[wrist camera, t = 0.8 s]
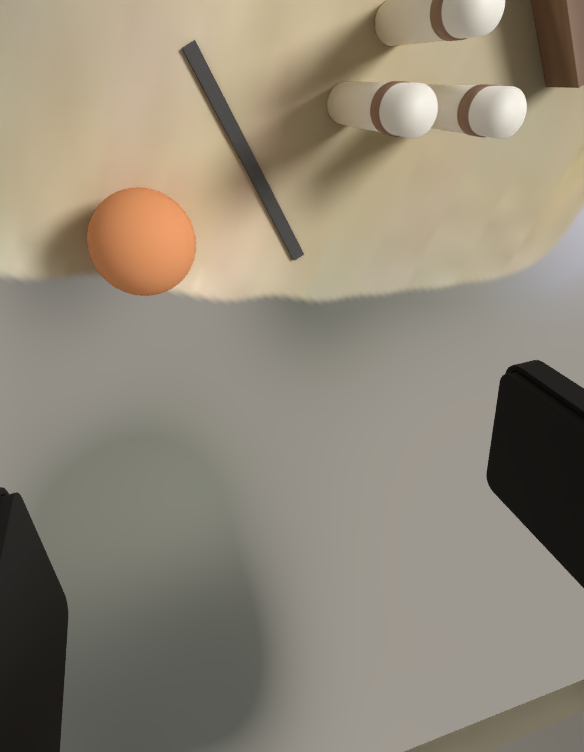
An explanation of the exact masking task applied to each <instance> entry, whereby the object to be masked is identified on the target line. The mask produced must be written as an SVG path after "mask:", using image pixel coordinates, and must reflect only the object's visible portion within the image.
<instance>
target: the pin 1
mask: <svg viewBox="0 0 584 752" xmlns="http://www.w3.org/2000/svg"><path fill="white" fill-rule="evenodd" d="M504 8H505V0H386V1H385V2H384V3H383V4H382V5H381V6H380V8H379V9H378V11H377V14H376V17H375V30H376V34H377V36H378V38H379V39H380V41H381V42H382V43H384V44H385V45H388V46H398V45H407V44H417V43H426V42H435V41H444V40H445V41H455V40H463V39H467V38H472V37H480V36H484V35H487V34H489V33H490V32H491V31H492V30H494V28H495V27H496V26H497V25H498V23H499V21H500V20H501V17H502V15H503V12H504Z"/></svg>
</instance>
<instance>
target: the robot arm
mask: <svg viewBox="0 0 584 752" xmlns="http://www.w3.org/2000/svg"><path fill="white" fill-rule="evenodd" d="M487 481H488V484H489V486H490V488H491V489H492V491H493V492H494V493H495V494H496V495H497V496H498V497H499V499H501V501H502V502H503V503H504V504H505V505H506V506H507V507H508V508H509V509H510V510H511V511H512V512H513V513H514V514H515V515H516V517H517V518H518V519H519V520H520V521H521V522H522V523H523V524H524V525H525V526H526V527H527V528H528V529H529V530H530V532H531V533H532V534H533V535H534V536H535V537H536V538H537V539H538V540H539V541H540V542H541V543H542V544H543V545H544V546H545V547H546V548H547V550H548V551H549V552H550V553H551V554H552V555H553V556H554V557H555V558H556V559H557V560H558V561H559V562H560V563H561V564H562V566H564V568H565V569H566V570H567V571H568V572H569V573H570V574H571V575H572V576H573V577H574V578H575V579H576V580H577V581H578V583H579V584H580V585H581V586H582V587H583V588H584V388H582V387H581V386H579V385H577V384H576V383H574V382H573V381H571V380H570V379H568V378H567V377H565V376H564V375H562V374H560V373H559V372H557V371H556V370H554V369H553V368H551V367H549V366H548V365H546V364H545V363H543V362H541V361H539V360H533V361H529V362H525V363H521V364H517V365H513V366H510V367H509V368H508V369H507V371H506V374H505V375H503V376H502V378H501V380H500V385H499V392H498V399H497V405H496V413H495V419H494V426H493V433H492V440H491V447H490V453H489V460H488V468H487ZM67 628H68V607H67V601H66V597H65V594H64V592H63V590H62V587H61V585H60V583H59V580H58V578H57V576H56V574H55V571H54V569H53V567H52V565H51V563H50V560H49V558H48V556H47V553H46V551H45V549H44V547H43V544H42V542H41V540H40V538H39V536H38V533H37V531H36V528H35V526H34V524H33V522H32V519H31V517H30V515H29V513H28V510H27V508H26V506H25V503H24V501H23V499H22V497H21V495H20V494H19V493H13V494H9V493H8V492H7V490H5V488H2V487H1V488H0V752H60V738H61V722H62V707H63V691H64V675H65V660H66V644H67ZM405 752H584V680H581V681H579V682H576V683H574V684H572V685H569V686H566V687H564V688H561V689H559V690H556V691H554V692H551V693H549V694H546V695H544V696H541V697H539V698H536V699H534V700H531V701H529V702H526V703H525V704H522V705H519V706H516V707H514V708H512V709H509V710H507V711H504V712H502V713H500V714H496V715H494V716H492V717H489V718H487V719H484V720H482V721H480V722H477V723H474V724H472V725H469V726H467V727H464V728H462V729H459V730H457V731H454V732H452V733H449V734H447V735H444V736H442V737H439V738H437V739H434V740H432V741H429V742H427V743H424V744H422V745H419V746H417V747H414V748H412V749H410V750H407V751H405Z"/></svg>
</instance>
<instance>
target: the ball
mask: <svg viewBox="0 0 584 752" xmlns="http://www.w3.org/2000/svg"><path fill="white" fill-rule="evenodd" d="M87 244H88V250H89V254H90V257H91V260H92V262H93V264H94V266H95V267H96V269H97V270H98V272H99V273H100V274H101V275H102V277H103V278H104V279H105V280H106V281H108V282H109V283H110V284H112V285H113V286H114V287H116V288H118V289H120V290H122V291H124V292H127V293H130V294H134V295H141V296H149V295H156V294H160V293H163V292H166V291H168V290H170V289H172V288H173V287H175V286H176V285H177V284H179V283H180V282H181V281H182V280H183V279H184V278H185V276H186V275H187V274H188V272H189V270H190V268H191V266H192V264H193V261H194V258H195V252H196V238H195V233H194V229H193V226H192V224H191V221H190V219H189V217H188V216H187V214H186V213H185V211H184V210H183V209H182V208H181V207H180V206H179V204H177V203H176V202H175V201H174V200H173V199H171V198H170V197H168V196H167V195H165V194H163V193H161V192H159V191H156V190H153V189H148V188H129V189H124V190H121V191H118V192H116V193H114V194H112V195H110V196H109V197H107V198H106V199H105V200H104V201H103V202H102V203H101V204H100V205H99V206H98V207H97V209H96V210H95V212H94V213H93V215H92V217H91V220H90V223H89V226H88V232H87Z"/></svg>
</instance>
